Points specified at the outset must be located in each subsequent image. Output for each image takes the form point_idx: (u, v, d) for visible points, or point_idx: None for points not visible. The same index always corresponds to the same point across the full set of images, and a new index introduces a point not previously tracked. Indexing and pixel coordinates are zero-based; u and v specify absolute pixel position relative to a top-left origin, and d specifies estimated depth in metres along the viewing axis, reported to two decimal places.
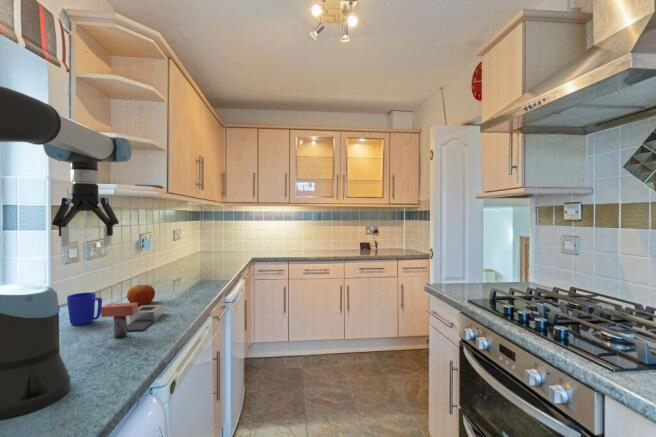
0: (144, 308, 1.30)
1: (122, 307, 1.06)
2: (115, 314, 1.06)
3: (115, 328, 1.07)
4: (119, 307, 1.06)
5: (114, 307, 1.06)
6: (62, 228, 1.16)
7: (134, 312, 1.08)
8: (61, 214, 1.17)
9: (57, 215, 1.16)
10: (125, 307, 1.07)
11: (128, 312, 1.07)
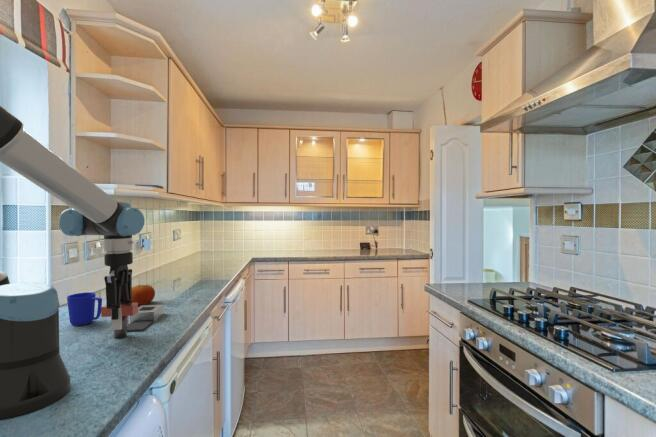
0: (144, 308, 1.30)
1: (122, 307, 1.06)
2: None
3: None
4: None
5: None
6: None
7: (134, 312, 1.08)
8: None
9: None
10: (125, 307, 1.07)
11: (128, 312, 1.07)
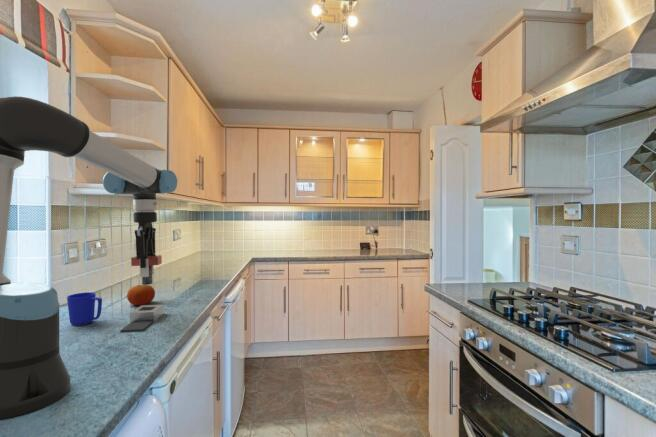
0: (144, 308, 1.30)
1: (149, 258, 1.25)
2: None
3: None
4: None
5: None
6: None
7: (159, 262, 1.27)
8: None
9: None
10: (151, 258, 1.26)
11: (153, 262, 1.26)
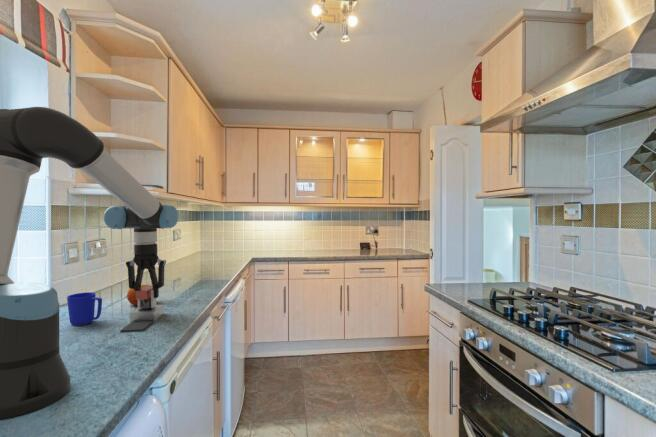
0: None
1: None
2: None
3: (150, 307, 1.27)
4: None
5: (151, 289, 1.27)
6: None
7: None
8: (132, 276, 1.26)
9: (129, 278, 1.25)
10: None
11: None
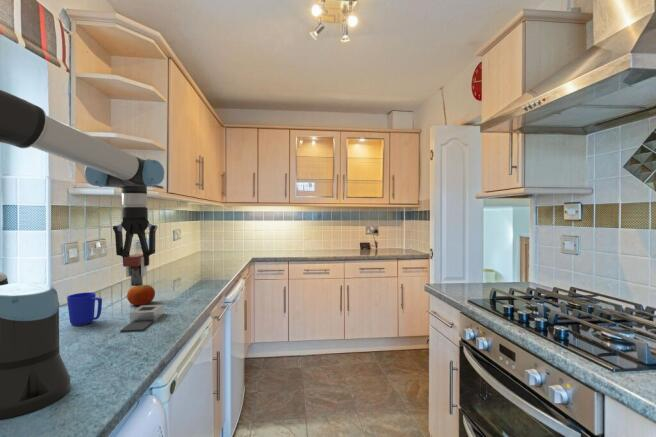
0: (144, 308, 1.30)
1: None
2: None
3: None
4: None
5: (141, 256, 1.17)
6: None
7: None
8: (120, 242, 1.16)
9: (117, 244, 1.15)
10: None
11: None
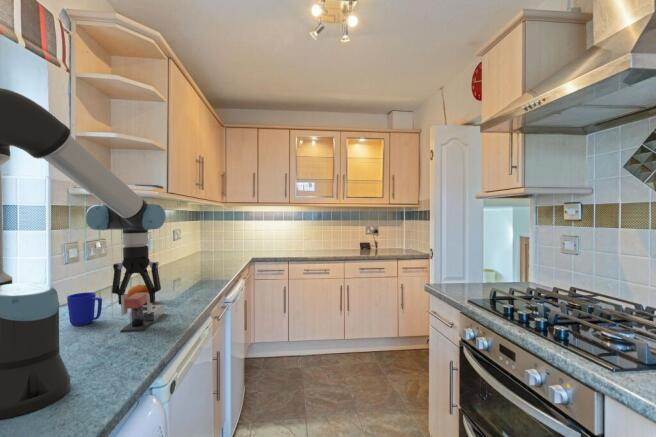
0: (144, 308, 1.30)
1: (145, 295, 1.19)
2: (142, 302, 1.17)
3: (141, 316, 1.17)
4: (144, 295, 1.18)
5: (142, 296, 1.17)
6: (122, 296, 1.16)
7: None
8: (117, 280, 1.16)
9: (114, 283, 1.15)
10: (146, 294, 1.20)
11: (146, 298, 1.21)
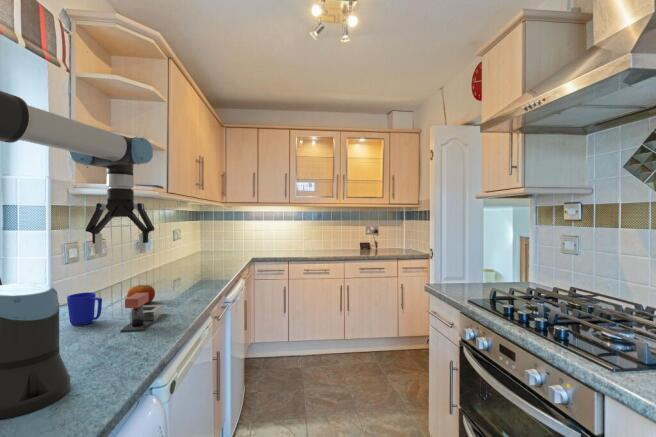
0: (144, 308, 1.30)
1: (145, 295, 1.19)
2: (143, 302, 1.17)
3: (141, 316, 1.17)
4: (144, 295, 1.19)
5: (142, 296, 1.17)
6: (96, 235, 1.12)
7: None
8: (95, 220, 1.12)
9: (91, 221, 1.12)
10: (146, 294, 1.20)
11: (147, 298, 1.21)
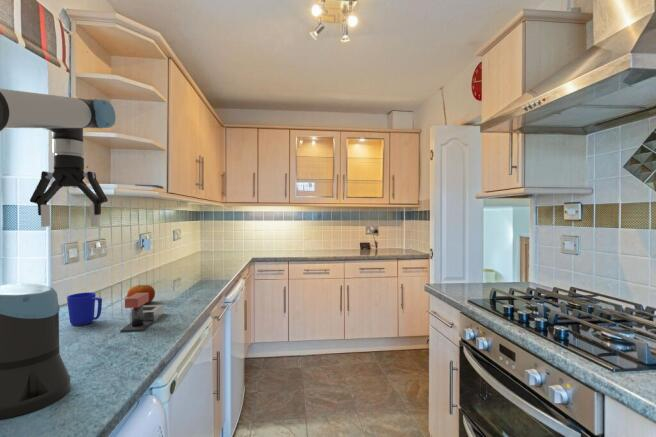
0: (144, 308, 1.30)
1: (145, 295, 1.19)
2: (143, 302, 1.17)
3: (141, 316, 1.17)
4: (144, 295, 1.19)
5: (142, 296, 1.17)
6: (42, 206, 1.03)
7: None
8: (41, 190, 1.03)
9: (36, 191, 1.03)
10: (146, 294, 1.20)
11: (147, 298, 1.21)
